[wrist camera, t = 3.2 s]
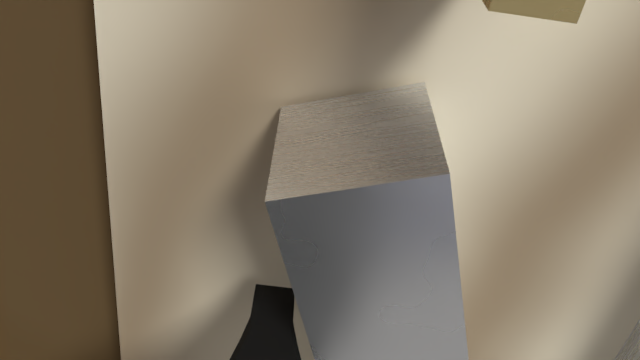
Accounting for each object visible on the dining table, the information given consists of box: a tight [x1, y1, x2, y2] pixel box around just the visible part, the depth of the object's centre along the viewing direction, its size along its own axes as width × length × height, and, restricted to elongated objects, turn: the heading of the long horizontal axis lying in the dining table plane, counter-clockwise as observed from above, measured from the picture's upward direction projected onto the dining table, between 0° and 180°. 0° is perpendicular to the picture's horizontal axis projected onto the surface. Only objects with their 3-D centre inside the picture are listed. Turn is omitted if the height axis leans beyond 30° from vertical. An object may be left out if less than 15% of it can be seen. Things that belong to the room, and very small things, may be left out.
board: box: [94, 0, 640, 360], centre depth 13 cm, size 18×24×1 cm
